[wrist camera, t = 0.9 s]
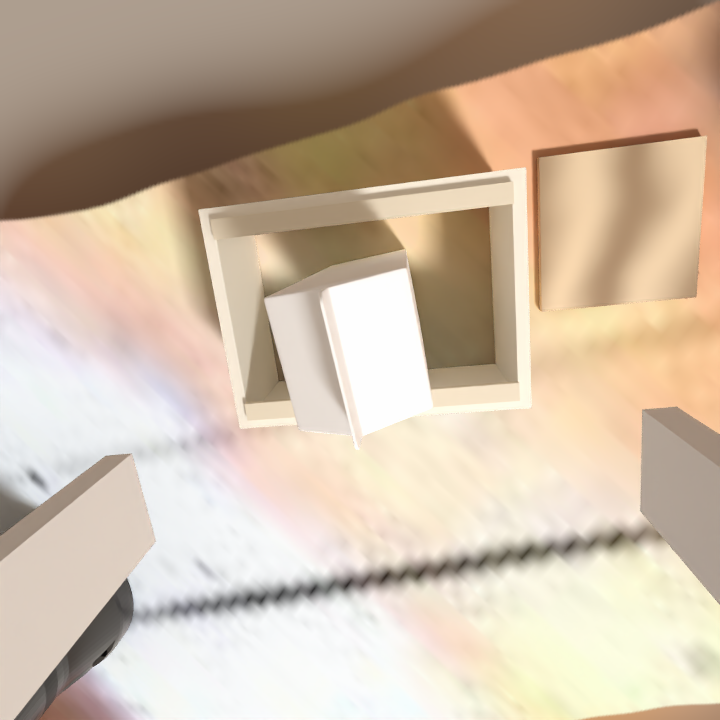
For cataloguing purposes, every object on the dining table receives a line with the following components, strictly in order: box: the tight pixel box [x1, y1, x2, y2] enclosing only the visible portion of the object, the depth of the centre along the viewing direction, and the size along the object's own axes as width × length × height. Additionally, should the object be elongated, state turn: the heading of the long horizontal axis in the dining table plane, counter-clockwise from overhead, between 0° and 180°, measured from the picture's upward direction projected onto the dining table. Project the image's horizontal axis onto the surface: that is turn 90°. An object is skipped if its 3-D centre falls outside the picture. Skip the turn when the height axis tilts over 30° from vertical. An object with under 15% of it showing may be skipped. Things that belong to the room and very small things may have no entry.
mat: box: [537, 136, 707, 312], centre depth 34 cm, size 11×11×1 cm
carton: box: [198, 167, 531, 429], centre depth 34 cm, size 20×15×8 cm
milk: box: [264, 249, 433, 450], centre depth 27 cm, size 6×6×22 cm
